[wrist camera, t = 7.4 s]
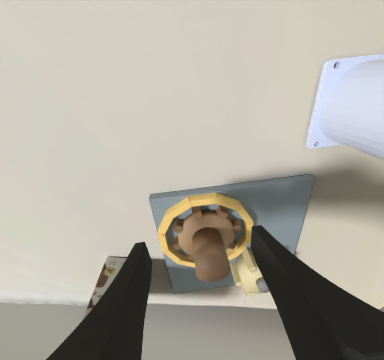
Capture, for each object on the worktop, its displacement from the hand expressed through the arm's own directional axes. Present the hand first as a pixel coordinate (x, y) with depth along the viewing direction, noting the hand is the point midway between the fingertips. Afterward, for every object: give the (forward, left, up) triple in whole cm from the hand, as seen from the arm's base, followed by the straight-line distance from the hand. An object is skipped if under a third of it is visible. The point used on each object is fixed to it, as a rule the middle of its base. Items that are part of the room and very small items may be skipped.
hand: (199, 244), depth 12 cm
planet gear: (-1, +7, -8) cm, 11 cm away
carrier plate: (-5, +11, -9) cm, 15 cm away
